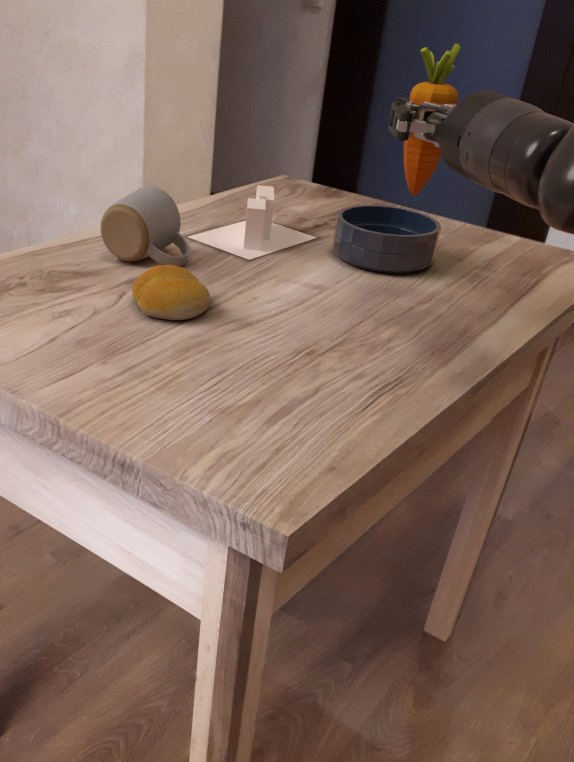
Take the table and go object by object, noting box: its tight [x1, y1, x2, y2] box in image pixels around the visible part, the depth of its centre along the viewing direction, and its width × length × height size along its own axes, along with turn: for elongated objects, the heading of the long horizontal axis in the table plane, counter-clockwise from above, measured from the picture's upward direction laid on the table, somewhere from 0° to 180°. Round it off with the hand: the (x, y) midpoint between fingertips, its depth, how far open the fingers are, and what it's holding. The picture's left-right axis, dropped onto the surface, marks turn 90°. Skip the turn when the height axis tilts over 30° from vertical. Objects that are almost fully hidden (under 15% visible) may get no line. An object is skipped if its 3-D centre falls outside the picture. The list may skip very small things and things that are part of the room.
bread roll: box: [131, 264, 211, 321], centre depth 87 cm, size 8×9×4 cm
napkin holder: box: [187, 184, 318, 261], centre depth 108 cm, size 15×11×6 cm
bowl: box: [332, 204, 442, 274], centre depth 104 cm, size 13×13×5 cm
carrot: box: [403, 43, 462, 197], centre depth 85 cm, size 5×5×15 cm
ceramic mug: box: [100, 185, 191, 267], centre depth 98 cm, size 11×8×8 cm
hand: (419, 108), depth 87 cm, fingers closed on carrot, 5 cm apart
